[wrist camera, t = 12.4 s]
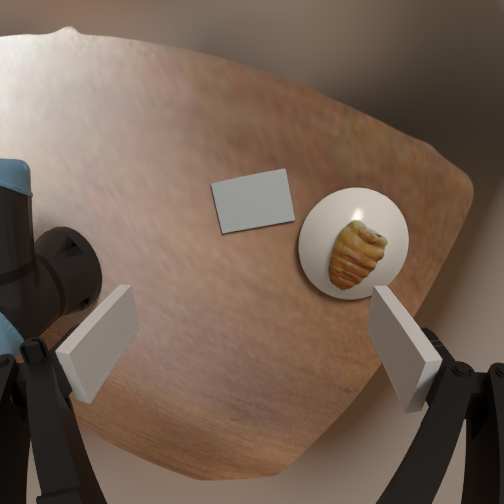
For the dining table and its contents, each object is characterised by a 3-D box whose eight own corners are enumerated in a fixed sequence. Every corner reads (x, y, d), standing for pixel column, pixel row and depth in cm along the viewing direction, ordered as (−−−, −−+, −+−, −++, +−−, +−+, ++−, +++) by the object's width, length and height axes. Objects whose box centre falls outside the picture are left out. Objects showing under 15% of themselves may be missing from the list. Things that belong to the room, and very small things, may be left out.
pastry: (354, 292, 42) (360, 304, 38) (314, 273, 41) (317, 284, 38) (387, 235, 39) (396, 243, 35) (347, 213, 38) (353, 219, 35)
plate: (296, 296, 44) (297, 300, 43) (298, 185, 39) (298, 186, 38) (398, 294, 42) (400, 297, 41) (409, 189, 37) (412, 190, 36)
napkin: (222, 232, 42) (222, 233, 41) (211, 183, 40) (210, 183, 39) (294, 219, 40) (294, 220, 40) (285, 168, 38) (285, 168, 38)
